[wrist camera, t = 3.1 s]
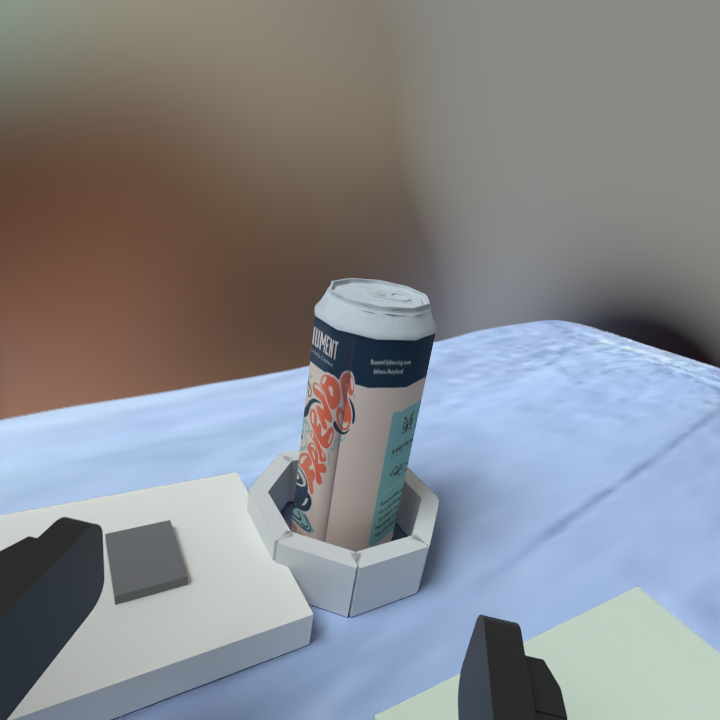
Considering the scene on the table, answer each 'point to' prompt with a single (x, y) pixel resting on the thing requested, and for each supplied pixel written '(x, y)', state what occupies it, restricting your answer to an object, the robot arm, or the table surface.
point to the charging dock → (208, 587)
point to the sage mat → (610, 667)
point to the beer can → (361, 410)
